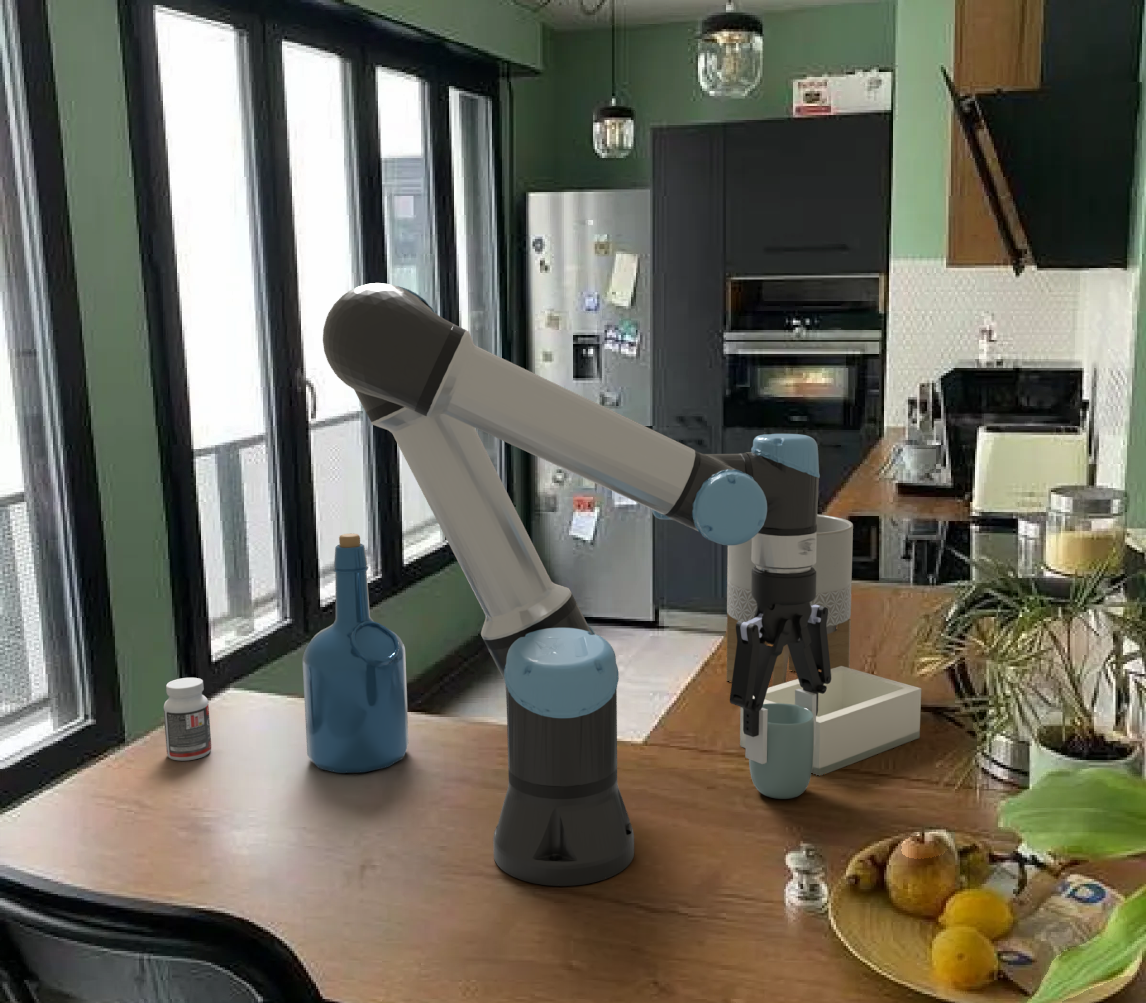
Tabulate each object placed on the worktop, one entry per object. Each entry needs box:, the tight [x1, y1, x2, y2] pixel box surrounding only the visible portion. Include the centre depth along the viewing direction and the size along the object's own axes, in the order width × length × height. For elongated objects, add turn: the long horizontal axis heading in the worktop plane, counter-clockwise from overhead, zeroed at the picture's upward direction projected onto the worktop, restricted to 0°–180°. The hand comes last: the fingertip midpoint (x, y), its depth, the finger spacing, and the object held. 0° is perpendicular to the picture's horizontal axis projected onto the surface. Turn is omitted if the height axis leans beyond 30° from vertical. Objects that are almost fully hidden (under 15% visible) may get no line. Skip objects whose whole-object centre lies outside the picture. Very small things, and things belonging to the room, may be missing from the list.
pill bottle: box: [163, 677, 212, 762], centre depth 151 cm, size 6×6×10 cm
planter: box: [726, 513, 854, 687], centre depth 176 cm, size 19×19×26 cm
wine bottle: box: [302, 533, 409, 774], centre depth 148 cm, size 14×13×30 cm
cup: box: [748, 703, 814, 800], centre depth 137 cm, size 8×8×10 cm
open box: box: [739, 666, 922, 777], centre depth 153 cm, size 21×14×7 cm, turn 128°
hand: (780, 751), depth 137 cm, fingers closed on cup, 8 cm apart
